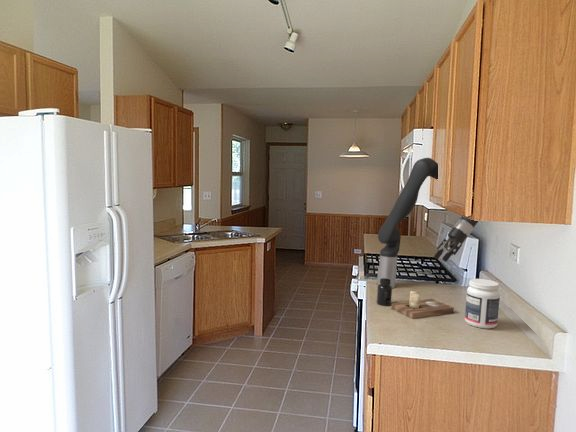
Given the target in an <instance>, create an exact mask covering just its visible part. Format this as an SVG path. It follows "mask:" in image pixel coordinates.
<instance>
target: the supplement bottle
mask: <svg viewBox="0 0 576 432" xmlns="http://www.w3.org/2000/svg"><path fill="white" fill-rule="evenodd" d="M390 281H391V280H390V279H387V278H381V279H380V284H379V285H377V290H376V292H377V293H376V304H377V305H379V306H383V307H388V306H392V297H393V296H392V295H393V288H392V286H391V285H390V284H391V283H390Z"/></svg>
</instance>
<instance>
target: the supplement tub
mask: <svg viewBox="0 0 576 432" xmlns="http://www.w3.org/2000/svg"><path fill="white" fill-rule="evenodd" d="M468 285H469V286H468V287H467V289H466V297H465V311H464V320H465V322H466V323H467V325H470V326H471V327H474V328H479V329H490V330H491V329H494V328H497V325H498V322H499V320H498V319H499V308H500V298H501V293H500V290H499V288H500V283H499V282H497V281H494V280H490V279H485V278H472V279H470V280H469V283H468Z"/></svg>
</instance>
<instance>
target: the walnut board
mask: <svg viewBox="0 0 576 432" xmlns="http://www.w3.org/2000/svg"><path fill="white" fill-rule="evenodd" d="M391 310H393V311H395V312H397V313H399V314H402V315H403V316H405V317H408V318H409V319H410V320H411V319H413V320H414V319H421V318H427V317H434V316H440V315H446V314H447V315H449V314H453V313H454V310H455V309H454V307H453V306H451V305H448V304H446V303H445V302H441V301H438V300H436V299H434V298H427V299H420V303H419V309H412V308H409V301H400V302H391Z"/></svg>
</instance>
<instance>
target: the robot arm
mask: <svg viewBox="0 0 576 432" xmlns="http://www.w3.org/2000/svg"><path fill="white" fill-rule="evenodd" d="M438 164H439V163H438V162H437V161H435V160H434V159H433V158H431V157H423V158H420V159H418V160H416V161H415V162H414V164H413V166H412V169H411V171H410V174H409V176H408V179H407V181H406V183H405V185H404V186H403V188H402V190H401V192H400V194H399V195H398V197H397V199H396V201H395V203H394V205H393V206H392V208H391V211H390V212H389V215H388V216H387V217H386V220H384V222H383V224H382V225H381V227H380V228H379V230H378V234H377V239H378V242H379V243H381V244H385V246H384V247H383V248H381V249H380V251H379V265H378V268H377V277H376V278H377V279H376V285H377V286H378V285H379V284H380V279H381V278H387V279H390V280H391V281H390V283H391V284H390V285H391V286H392V289H394V288H396V281H397V280H396V279H397V278H396V277H397V265H398V253H399V251H400V246H401V237H402V235H401V231H400V228H398V227H397V226H398V225H400V223H401V222H402V221H403V220H405V219H406V218H407V217H408V216H409V215H410V214H411V212H413V209H414V207H415V205H416V203H417V202H418V198H419V194H420V189H421V187H422V185H423V184H424V182H425V181H426V179H427V178H428V177H430V178H432V179H435V180H436V181H438V180H437V179H438ZM478 222H479V221H474V220H470V219H468V218H465V217H463V215H462V216H461V217H460V218H459V220H457V222H456V223H455V224H454V226H453V227H452V228H451V230H450V231H449V232H448V233H447V236H448V239H446V238H444V239H443V240H442V241H441V242H440V244H439V245H438V246H437V247H436V249H437V251H436V252H435V254H434V255H433V258H434V259H436V260H439V259H440V257H441V256H442V255H443V253H444V252H446V253H445V254H444V255H443V257H442V258H441V260H442V261H443V262H445V263H446V262H448V261H449V259H450V258H451V257H452V256H453V255H454V256H455V255H456V254H457V253H458V252H459V251H460V249H461V247H462V246H463V243H464V242H465V241H466V240H467V238H468V237H469V236H470V234H471V233H472V231H473V229H474V228H475V226H476V225H477V224H478Z"/></svg>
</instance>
